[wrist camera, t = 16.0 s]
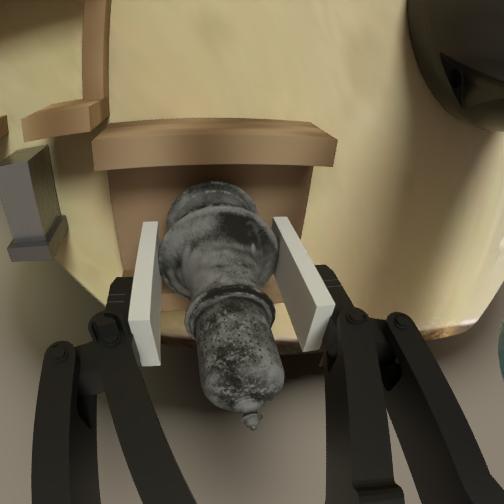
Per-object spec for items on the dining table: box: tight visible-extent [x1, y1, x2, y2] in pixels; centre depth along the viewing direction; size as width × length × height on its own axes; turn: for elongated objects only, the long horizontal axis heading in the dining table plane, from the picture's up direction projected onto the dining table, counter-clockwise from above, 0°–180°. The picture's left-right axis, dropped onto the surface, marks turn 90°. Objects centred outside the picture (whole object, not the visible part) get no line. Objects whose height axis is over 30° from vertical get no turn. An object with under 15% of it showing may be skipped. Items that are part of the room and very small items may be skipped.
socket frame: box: [0, 0, 111, 142], centre depth 10 cm, size 11×11×4 cm
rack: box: [91, 118, 338, 311], centre depth 18 cm, size 12×11×4 cm
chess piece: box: [158, 181, 284, 430], centre depth 13 cm, size 6×6×12 cm
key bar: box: [0, 145, 68, 262], centre depth 15 cm, size 3×6×4 cm, turn 176°
